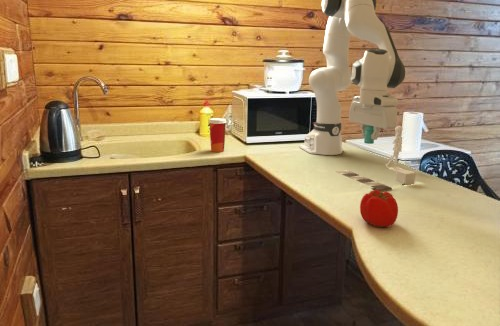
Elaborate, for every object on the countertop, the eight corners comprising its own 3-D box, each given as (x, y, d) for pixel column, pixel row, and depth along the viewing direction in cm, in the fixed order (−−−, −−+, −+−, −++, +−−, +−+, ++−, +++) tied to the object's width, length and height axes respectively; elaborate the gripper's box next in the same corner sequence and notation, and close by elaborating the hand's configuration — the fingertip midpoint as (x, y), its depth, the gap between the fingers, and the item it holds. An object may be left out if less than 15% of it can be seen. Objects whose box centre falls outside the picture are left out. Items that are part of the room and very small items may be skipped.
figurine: (405, 173, 159) (410, 127, 155) (384, 172, 161) (388, 126, 156) (402, 168, 167) (407, 124, 162) (381, 167, 168) (386, 123, 164)
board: (334, 173, 158) (334, 171, 157) (347, 171, 160) (347, 170, 160) (378, 191, 137) (378, 189, 136) (391, 189, 139) (392, 187, 139)
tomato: (376, 234, 104) (379, 202, 101) (349, 219, 113) (351, 189, 111) (408, 228, 108) (411, 197, 105) (379, 214, 117) (382, 185, 115)
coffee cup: (216, 148, 198) (216, 117, 194) (229, 150, 193) (230, 119, 190) (204, 151, 191) (204, 119, 188) (218, 153, 187) (218, 121, 183)
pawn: (362, 142, 144) (363, 123, 142) (369, 141, 145) (370, 123, 143) (368, 144, 141) (370, 125, 139) (375, 143, 142) (377, 124, 141)
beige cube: (395, 182, 148) (396, 170, 147) (404, 181, 150) (405, 169, 149) (404, 186, 144) (406, 174, 143) (413, 184, 146) (415, 172, 145)
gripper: (346, 95, 147) (343, 133, 150) (387, 101, 129) (382, 144, 132) (360, 95, 150) (357, 132, 153) (402, 100, 132) (397, 142, 135)
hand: (369, 138), depth 143 cm, fingers closed on pawn, 3 cm apart
